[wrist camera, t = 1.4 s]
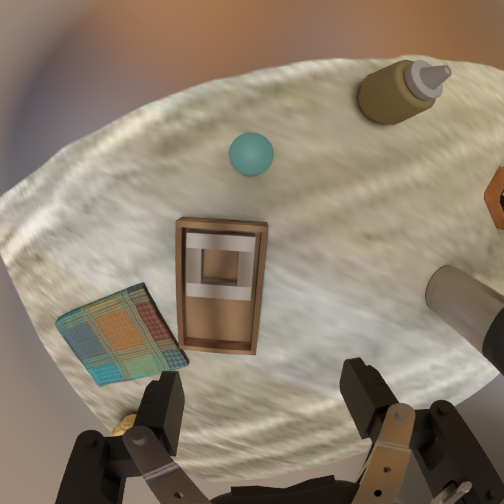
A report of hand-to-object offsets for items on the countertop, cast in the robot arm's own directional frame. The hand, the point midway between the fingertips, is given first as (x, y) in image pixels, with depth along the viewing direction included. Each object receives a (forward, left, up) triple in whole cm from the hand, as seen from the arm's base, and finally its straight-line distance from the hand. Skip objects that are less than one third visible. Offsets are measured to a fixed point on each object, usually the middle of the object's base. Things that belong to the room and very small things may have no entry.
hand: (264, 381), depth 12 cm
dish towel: (+23, +20, -29) cm, 42 cm away
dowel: (+1, -11, -28) cm, 30 cm away
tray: (+4, +7, -28) cm, 29 cm away
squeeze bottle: (-17, -23, -28) cm, 40 cm away
